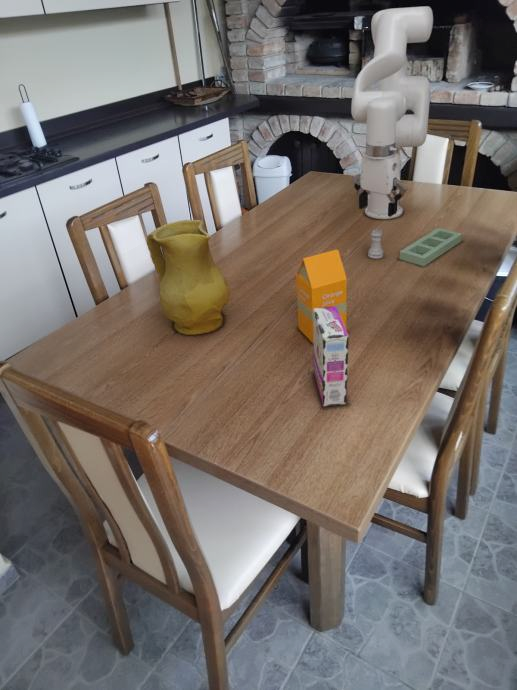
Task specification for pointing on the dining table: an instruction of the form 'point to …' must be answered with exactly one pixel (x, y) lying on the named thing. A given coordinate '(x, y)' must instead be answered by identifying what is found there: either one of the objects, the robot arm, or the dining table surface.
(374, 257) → the rook chess piece
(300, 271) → the orange juice
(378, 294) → the dining table surface
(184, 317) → the pitcher
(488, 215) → the dining table surface
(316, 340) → the candy bar box
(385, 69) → the robot arm
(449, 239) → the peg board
